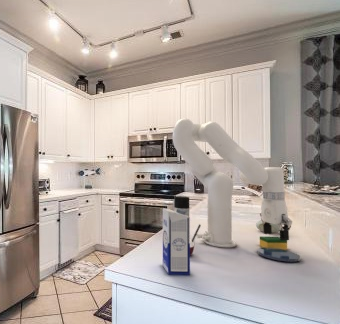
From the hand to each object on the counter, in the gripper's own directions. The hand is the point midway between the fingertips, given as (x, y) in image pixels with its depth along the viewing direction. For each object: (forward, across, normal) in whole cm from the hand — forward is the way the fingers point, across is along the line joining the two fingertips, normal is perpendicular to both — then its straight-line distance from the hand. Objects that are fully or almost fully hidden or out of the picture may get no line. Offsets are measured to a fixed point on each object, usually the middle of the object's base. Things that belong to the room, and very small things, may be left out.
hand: (275, 236), depth 105 cm
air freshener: (+5, -26, +15) cm, 31 cm away
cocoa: (+3, +10, -41) cm, 42 cm away
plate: (+4, +11, -7) cm, 14 cm away
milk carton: (+3, +25, -50) cm, 56 cm away
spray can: (+3, -10, -36) cm, 38 cm away
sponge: (+5, 0, -1) cm, 5 cm away
